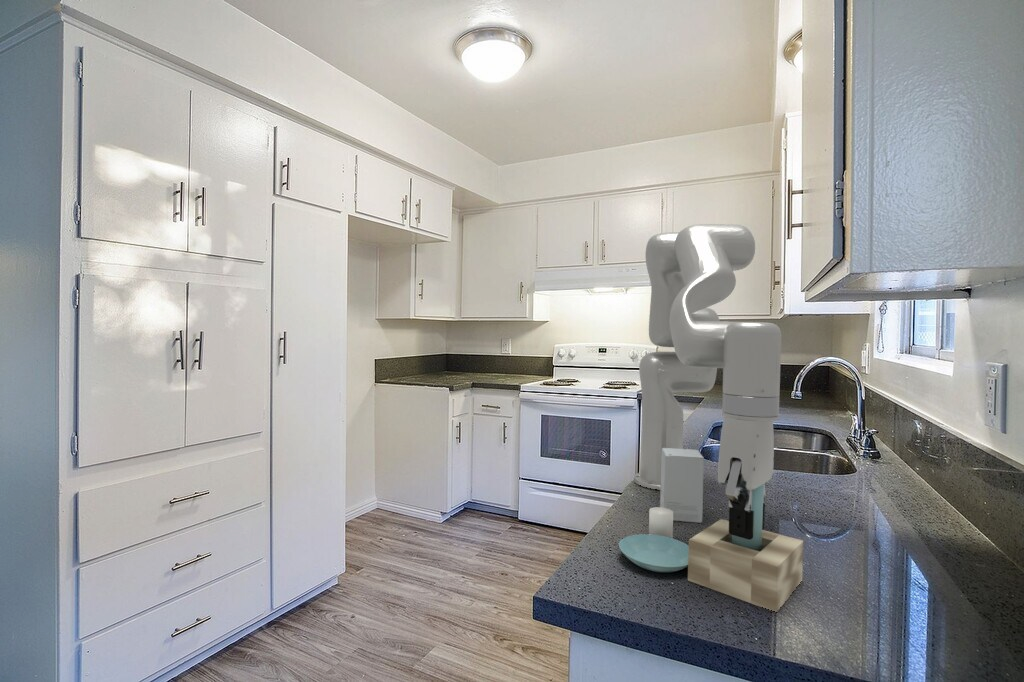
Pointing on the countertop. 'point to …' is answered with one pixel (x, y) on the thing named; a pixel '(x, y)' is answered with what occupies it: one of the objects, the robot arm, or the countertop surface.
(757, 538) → the teal dowel
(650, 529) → the short off-white stub
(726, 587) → the birch hole block
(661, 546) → the saucer
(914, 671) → the countertop surface
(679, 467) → the supplement box
